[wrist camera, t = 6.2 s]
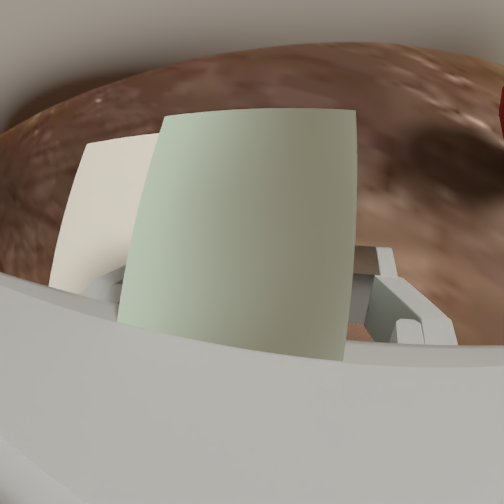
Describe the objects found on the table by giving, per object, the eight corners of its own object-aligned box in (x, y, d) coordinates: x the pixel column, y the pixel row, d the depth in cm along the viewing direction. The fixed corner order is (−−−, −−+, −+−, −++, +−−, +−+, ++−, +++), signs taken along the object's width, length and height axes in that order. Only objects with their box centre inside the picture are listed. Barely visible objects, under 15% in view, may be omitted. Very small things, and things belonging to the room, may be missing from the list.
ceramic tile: (57, 288, 21) (48, 286, 20) (93, 149, 23) (87, 143, 22) (160, 312, 18) (152, 311, 17) (196, 137, 21) (190, 130, 20)
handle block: (255, 337, 17) (113, 352, 5) (267, 248, 18) (164, 116, 6) (328, 346, 16) (337, 398, 4) (338, 254, 17) (356, 110, 5)
